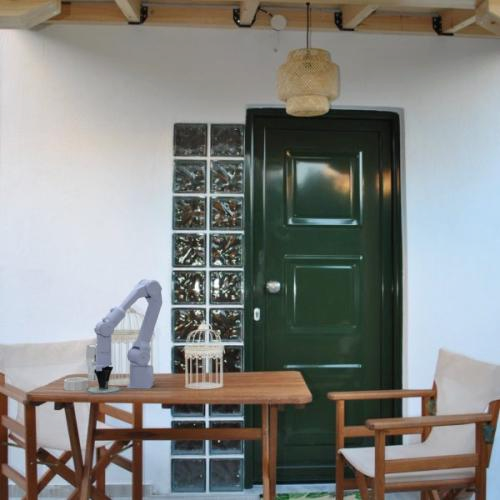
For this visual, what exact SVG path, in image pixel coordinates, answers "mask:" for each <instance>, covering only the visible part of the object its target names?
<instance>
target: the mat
mask: <svg viewBox="0 0 500 500" xmlns="http://www.w3.org/2000/svg"><path fill="white" fill-rule="evenodd" d="M118 387H119V386H118ZM122 389H124V386H122V387H121V386H120V387H119V390H118V391H116V392H111V393H91V392H88V389H86V390H84V391H83V393H82V394H84V395H85V394H90V395H91V394H92V395H93V394H94V395H95V394H97V395H99V394H101V395H116V394H118V393H119V392H121V390H122Z"/></svg>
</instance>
